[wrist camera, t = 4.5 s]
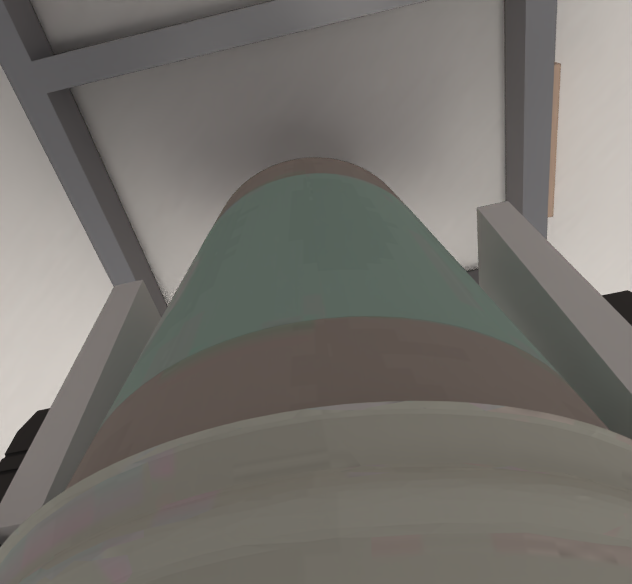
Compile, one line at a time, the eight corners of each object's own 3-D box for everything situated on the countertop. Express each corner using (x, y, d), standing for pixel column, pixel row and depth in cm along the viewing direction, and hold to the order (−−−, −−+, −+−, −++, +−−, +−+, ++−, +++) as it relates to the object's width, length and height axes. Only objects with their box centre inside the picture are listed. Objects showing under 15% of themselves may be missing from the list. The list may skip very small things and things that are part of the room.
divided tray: (-259, -536, 11) (-348, -621, 9) (582, -836, 10) (637, -991, 8) (166, 349, 25) (157, 373, 23) (539, 274, 23) (557, 294, 22)
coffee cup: (142, 96, 12) (-633, 799, 2) (487, 107, 12) (1348, 676, 2) (181, 364, 16) (25, 976, 6) (430, 362, 17) (642, 919, 7)
